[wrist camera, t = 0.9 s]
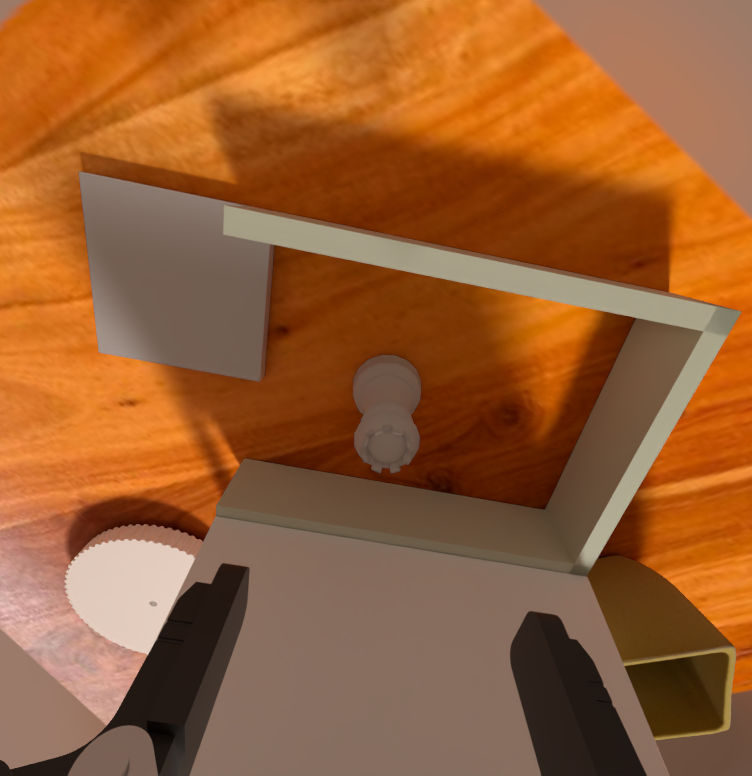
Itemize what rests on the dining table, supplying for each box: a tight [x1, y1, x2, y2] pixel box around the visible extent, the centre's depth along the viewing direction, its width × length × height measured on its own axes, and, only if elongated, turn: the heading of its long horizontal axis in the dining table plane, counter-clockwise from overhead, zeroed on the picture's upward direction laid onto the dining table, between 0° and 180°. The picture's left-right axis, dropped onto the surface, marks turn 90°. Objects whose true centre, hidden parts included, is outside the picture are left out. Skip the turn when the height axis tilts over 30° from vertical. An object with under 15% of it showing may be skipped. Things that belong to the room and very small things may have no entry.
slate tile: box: [79, 171, 275, 382], centre depth 23 cm, size 10×10×1 cm
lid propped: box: [155, 516, 669, 776], centre depth 17 cm, size 24×4×18 cm, turn 79°
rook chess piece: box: [353, 355, 421, 474], centre depth 22 cm, size 4×4×8 cm
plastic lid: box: [65, 524, 203, 655], centre depth 33 cm, size 14×14×2 cm
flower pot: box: [587, 555, 736, 740], centre depth 28 cm, size 9×9×9 cm
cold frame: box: [216, 205, 741, 577], centre depth 21 cm, size 24×24×12 cm
